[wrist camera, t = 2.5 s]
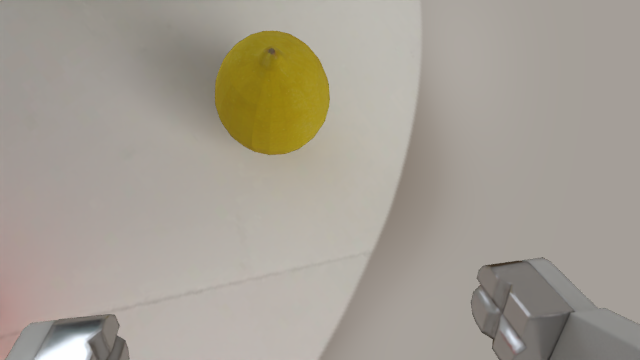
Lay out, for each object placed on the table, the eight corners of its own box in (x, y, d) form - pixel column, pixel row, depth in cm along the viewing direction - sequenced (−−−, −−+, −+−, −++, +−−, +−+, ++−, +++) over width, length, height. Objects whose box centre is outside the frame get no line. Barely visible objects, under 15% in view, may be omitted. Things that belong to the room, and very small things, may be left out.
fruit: (336, 117, 24) (367, 35, 16) (287, 191, 22) (294, 139, 14) (260, 70, 24) (253, -34, 16) (205, 140, 22) (169, 61, 15)
